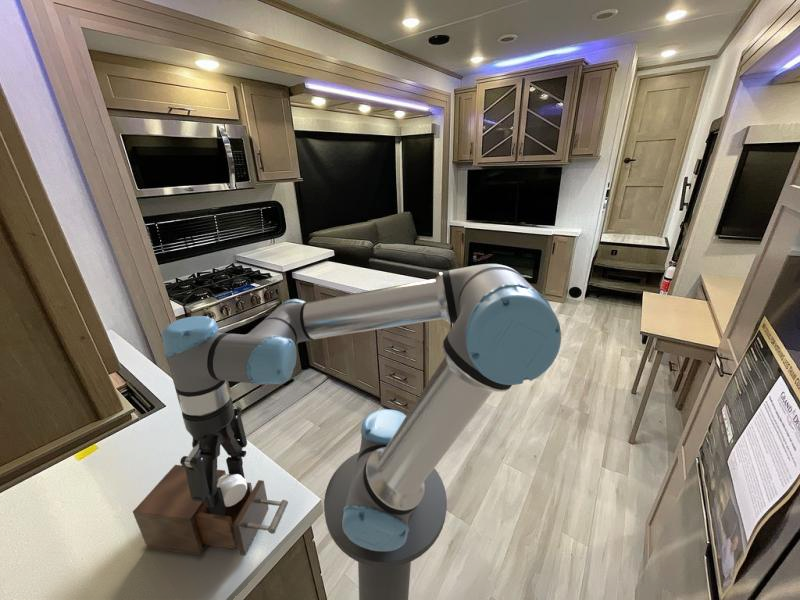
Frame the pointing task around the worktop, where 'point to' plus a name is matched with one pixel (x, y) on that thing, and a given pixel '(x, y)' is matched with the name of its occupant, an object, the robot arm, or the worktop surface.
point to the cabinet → (171, 515)
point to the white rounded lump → (232, 488)
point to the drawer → (239, 520)
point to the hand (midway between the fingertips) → (228, 496)
